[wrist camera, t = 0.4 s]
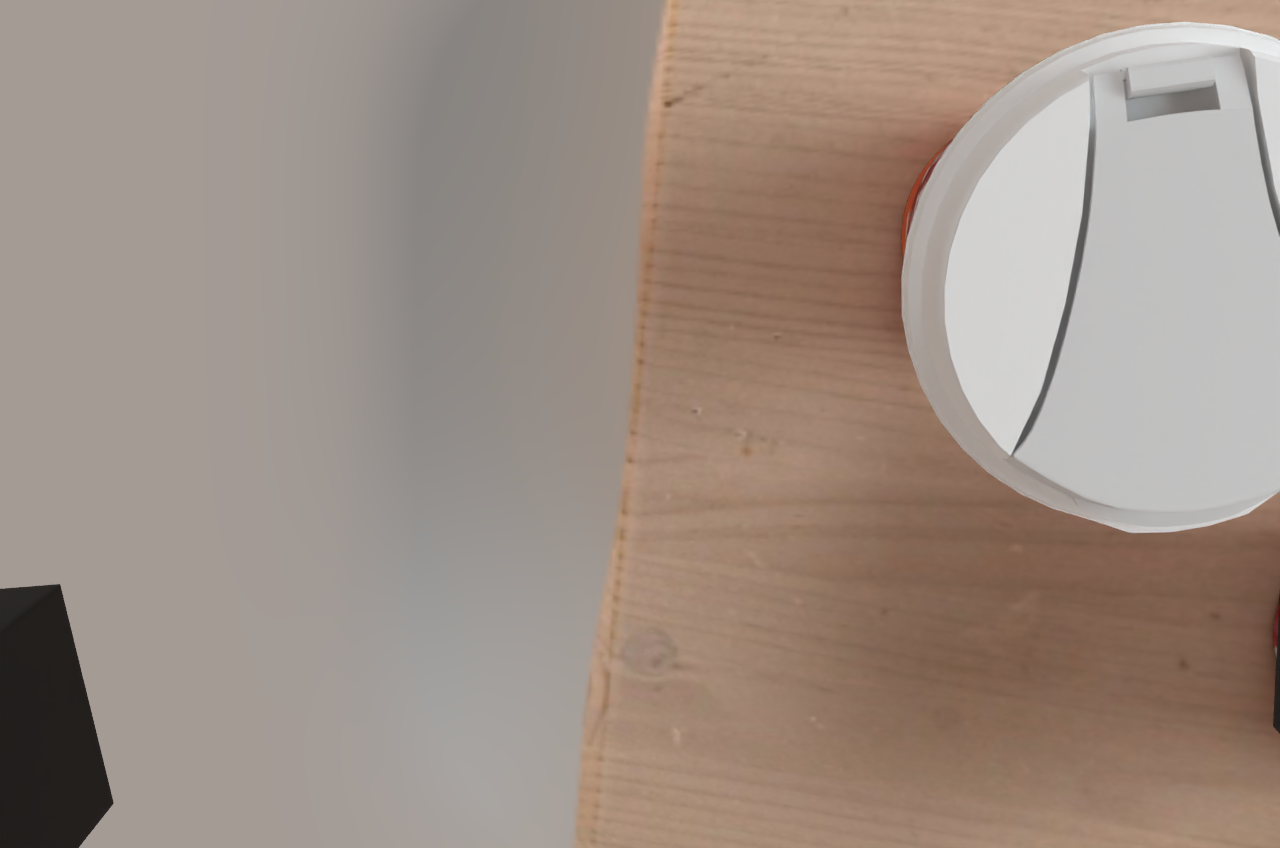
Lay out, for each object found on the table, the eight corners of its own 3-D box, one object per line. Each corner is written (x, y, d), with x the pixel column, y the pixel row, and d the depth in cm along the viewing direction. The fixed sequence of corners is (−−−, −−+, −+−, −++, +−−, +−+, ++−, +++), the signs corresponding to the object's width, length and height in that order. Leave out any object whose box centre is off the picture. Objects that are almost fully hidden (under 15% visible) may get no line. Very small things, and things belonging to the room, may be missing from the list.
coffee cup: (844, 98, 33) (884, 58, 18) (1162, 52, 32) (1474, -31, 17) (874, 400, 35) (932, 580, 20) (1177, 367, 33) (1473, 534, 19)
